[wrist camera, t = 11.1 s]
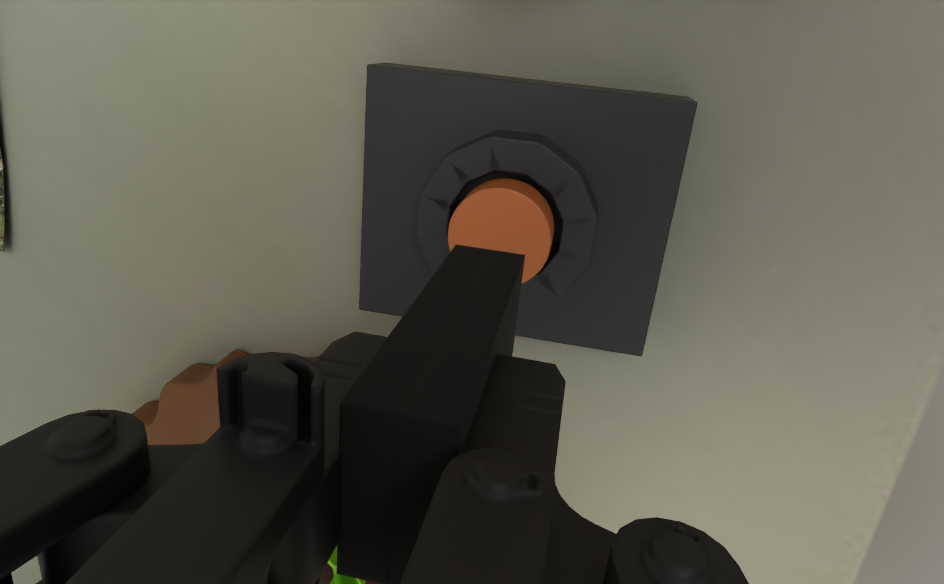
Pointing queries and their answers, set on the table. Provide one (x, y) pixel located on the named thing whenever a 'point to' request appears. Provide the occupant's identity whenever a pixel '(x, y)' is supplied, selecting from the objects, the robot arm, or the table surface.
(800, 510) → the table surface
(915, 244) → the table surface
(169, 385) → the plant
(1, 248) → the eiffel tower figurine
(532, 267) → the bell button
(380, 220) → the doorbell
